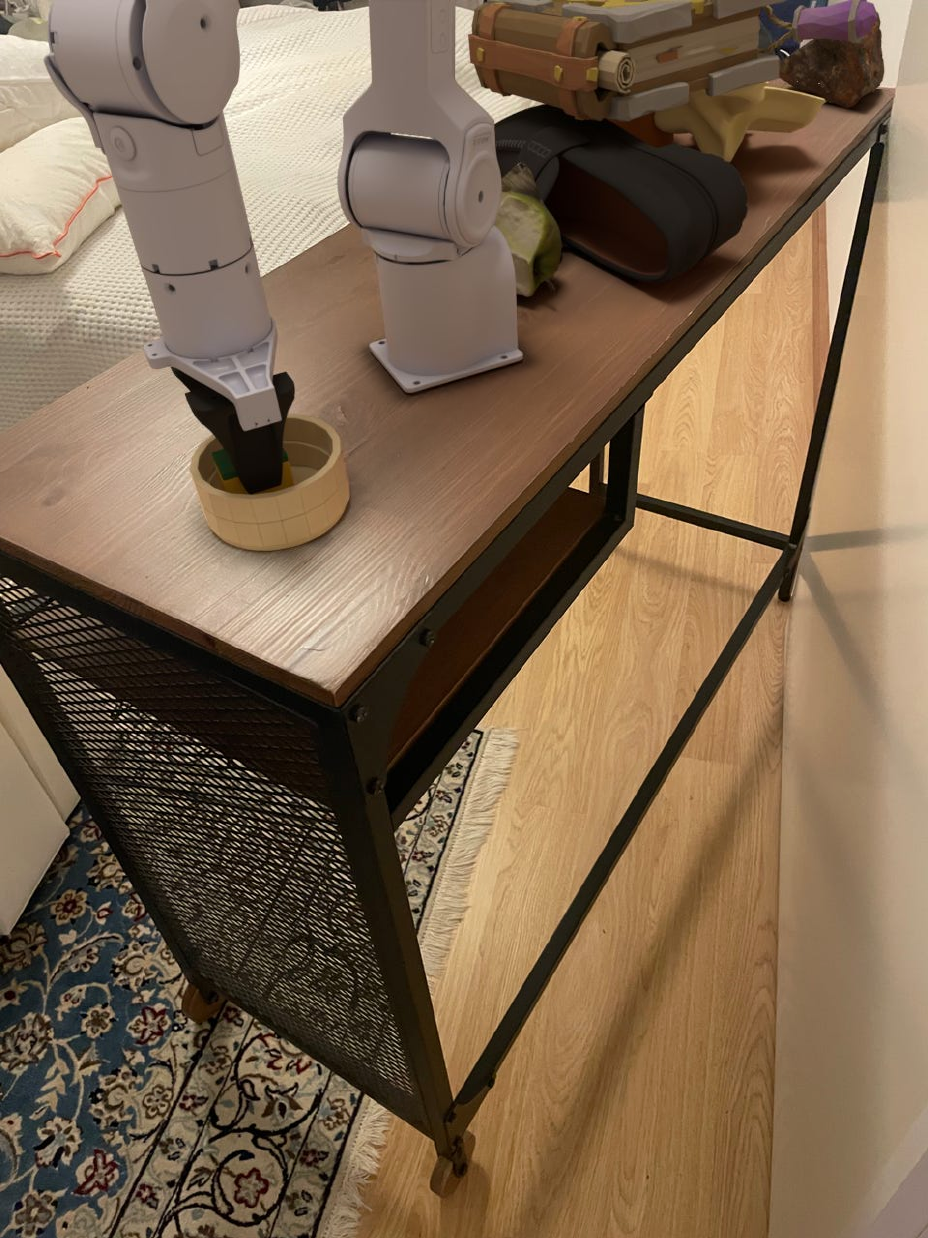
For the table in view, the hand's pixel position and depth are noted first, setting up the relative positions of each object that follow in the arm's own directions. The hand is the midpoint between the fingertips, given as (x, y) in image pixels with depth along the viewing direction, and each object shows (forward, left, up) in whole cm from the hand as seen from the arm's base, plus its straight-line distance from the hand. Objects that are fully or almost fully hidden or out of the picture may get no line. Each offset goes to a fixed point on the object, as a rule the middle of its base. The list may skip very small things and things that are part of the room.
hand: (256, 473), depth 57 cm
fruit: (-30, -22, +2) cm, 37 cm away
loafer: (-41, -26, +2) cm, 49 cm away
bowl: (-1, 0, -3) cm, 3 cm away
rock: (-76, -43, -2) cm, 87 cm away
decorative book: (-46, -18, +6) cm, 50 cm away
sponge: (0, 0, -1) cm, 1 cm away
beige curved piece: (-58, -35, +3) cm, 68 cm away
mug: (-52, -44, -3) cm, 68 cm away
